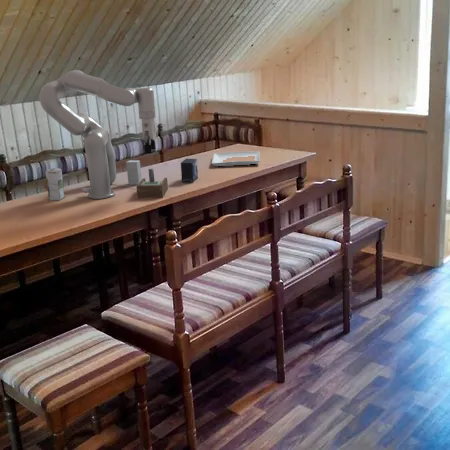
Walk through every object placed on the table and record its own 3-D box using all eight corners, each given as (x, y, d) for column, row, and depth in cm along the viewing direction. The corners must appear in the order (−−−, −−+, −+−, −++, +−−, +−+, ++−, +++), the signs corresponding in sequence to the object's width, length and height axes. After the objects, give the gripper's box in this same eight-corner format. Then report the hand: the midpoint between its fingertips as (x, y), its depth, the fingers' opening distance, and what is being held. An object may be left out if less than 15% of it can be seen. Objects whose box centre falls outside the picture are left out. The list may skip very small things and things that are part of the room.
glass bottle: (93, 184, 326) (87, 131, 317) (110, 180, 332) (104, 128, 324) (104, 187, 319) (98, 132, 310) (121, 183, 326) (115, 129, 317)
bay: (162, 197, 294) (161, 185, 292) (137, 198, 294) (136, 186, 293) (167, 189, 309) (167, 177, 307) (143, 189, 310) (142, 178, 308)
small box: (193, 182, 319) (192, 162, 315) (181, 182, 320) (179, 162, 317) (198, 178, 328) (197, 158, 325) (186, 178, 330) (185, 158, 327)
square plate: (214, 158, 375) (213, 152, 374) (259, 156, 374) (259, 150, 373) (211, 168, 349) (211, 162, 348) (260, 166, 348) (260, 159, 347)
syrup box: (53, 197, 305) (49, 168, 300) (65, 197, 304) (61, 168, 299) (48, 200, 299) (44, 170, 295) (60, 200, 298) (56, 170, 294)
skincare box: (142, 183, 324) (140, 160, 320) (139, 185, 320) (136, 162, 316) (131, 182, 325) (129, 160, 322) (128, 184, 321) (125, 162, 318)
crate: (159, 195, 295) (157, 172, 291) (141, 195, 296) (139, 172, 292) (162, 190, 302) (160, 168, 299) (144, 191, 303) (142, 168, 300)
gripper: (152, 117, 283) (155, 154, 288) (158, 112, 299) (160, 147, 304) (135, 117, 283) (139, 155, 288) (142, 112, 300) (145, 148, 305)
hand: (150, 151), depth 296 cm, fingers open, 9 cm apart
